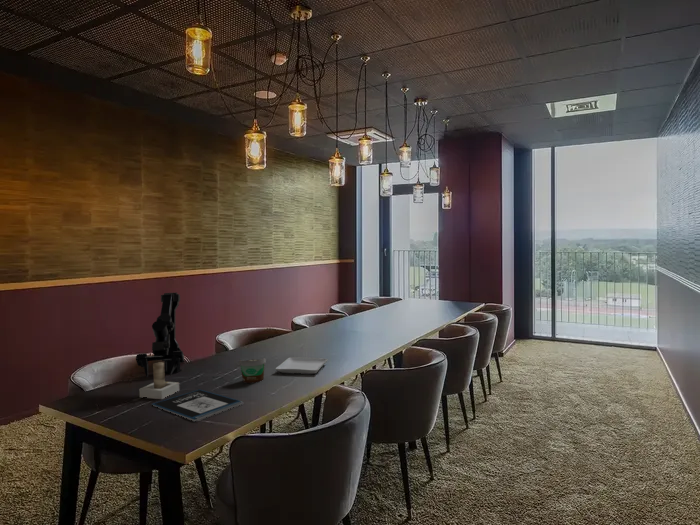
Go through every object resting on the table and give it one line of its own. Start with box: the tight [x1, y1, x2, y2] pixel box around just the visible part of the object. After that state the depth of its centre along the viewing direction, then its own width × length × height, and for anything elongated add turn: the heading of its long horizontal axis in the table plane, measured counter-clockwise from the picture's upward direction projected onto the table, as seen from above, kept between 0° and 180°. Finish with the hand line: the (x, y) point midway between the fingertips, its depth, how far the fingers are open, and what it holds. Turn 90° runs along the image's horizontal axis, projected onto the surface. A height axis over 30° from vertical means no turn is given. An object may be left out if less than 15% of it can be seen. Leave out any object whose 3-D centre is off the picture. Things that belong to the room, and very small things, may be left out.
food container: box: [238, 357, 267, 384], centre depth 208 cm, size 12×6×10 cm, turn 105°
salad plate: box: [275, 356, 329, 375], centre depth 227 cm, size 21×21×3 cm
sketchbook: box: [151, 388, 244, 423], centre depth 180 cm, size 22×30×2 cm
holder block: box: [138, 381, 180, 400], centre depth 194 cm, size 11×11×4 cm
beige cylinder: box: [152, 361, 166, 389], centre depth 194 cm, size 4×4×13 cm
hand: (158, 375), depth 193 cm, fingers open, 9 cm apart
